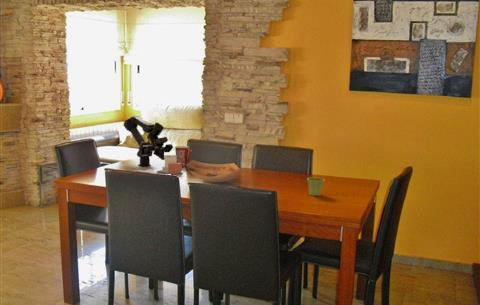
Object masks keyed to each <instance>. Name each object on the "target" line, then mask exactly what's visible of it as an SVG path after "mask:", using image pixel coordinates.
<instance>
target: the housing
mask: <svg viewBox="0 0 480 305" xmlns="http://www.w3.org/2000/svg"><path fill="white" fill-rule="evenodd" d="M156 173H159V174H161V173H162V175H165V174H171V175H172V176H178V175H183V174H184V173H183V172H182V167H181V163H172V164H169V168H166V167H165V166H163V167H162V169H161V170H157V171H156Z"/></svg>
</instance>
